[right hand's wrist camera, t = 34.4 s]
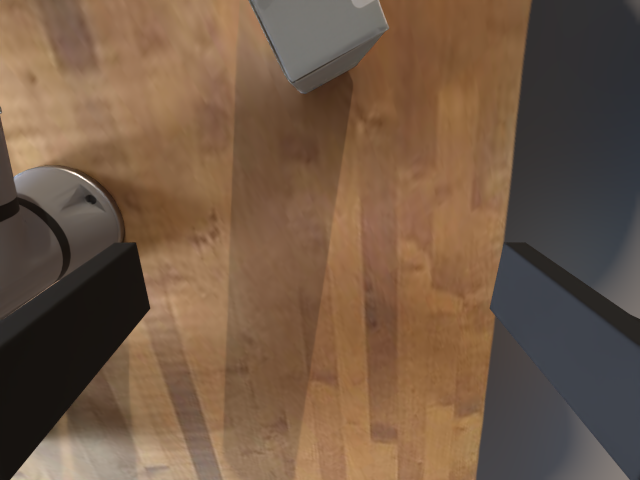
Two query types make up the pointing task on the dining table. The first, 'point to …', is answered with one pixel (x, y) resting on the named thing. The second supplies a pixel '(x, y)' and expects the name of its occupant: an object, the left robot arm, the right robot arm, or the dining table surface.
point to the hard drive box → (319, 36)
